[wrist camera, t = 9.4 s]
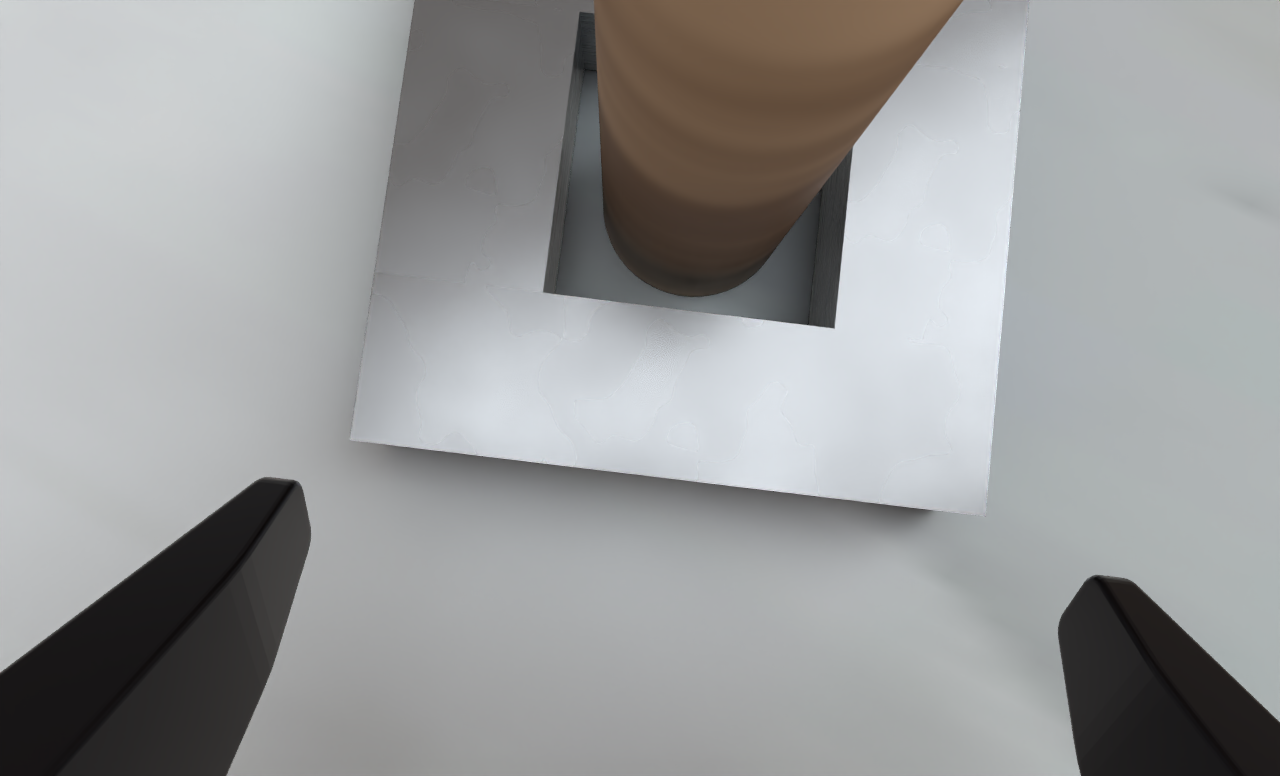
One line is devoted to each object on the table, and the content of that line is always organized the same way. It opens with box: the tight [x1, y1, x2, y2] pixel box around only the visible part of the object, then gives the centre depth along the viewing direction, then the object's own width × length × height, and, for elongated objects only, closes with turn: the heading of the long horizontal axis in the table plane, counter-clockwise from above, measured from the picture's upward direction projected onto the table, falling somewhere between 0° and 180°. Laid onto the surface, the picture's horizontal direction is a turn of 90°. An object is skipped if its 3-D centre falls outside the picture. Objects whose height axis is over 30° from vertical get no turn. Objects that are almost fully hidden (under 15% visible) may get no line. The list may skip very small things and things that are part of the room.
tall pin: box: [594, 0, 963, 297], centre depth 13 cm, size 4×4×14 cm
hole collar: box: [350, 0, 1029, 516], centre depth 18 cm, size 12×12×2 cm
